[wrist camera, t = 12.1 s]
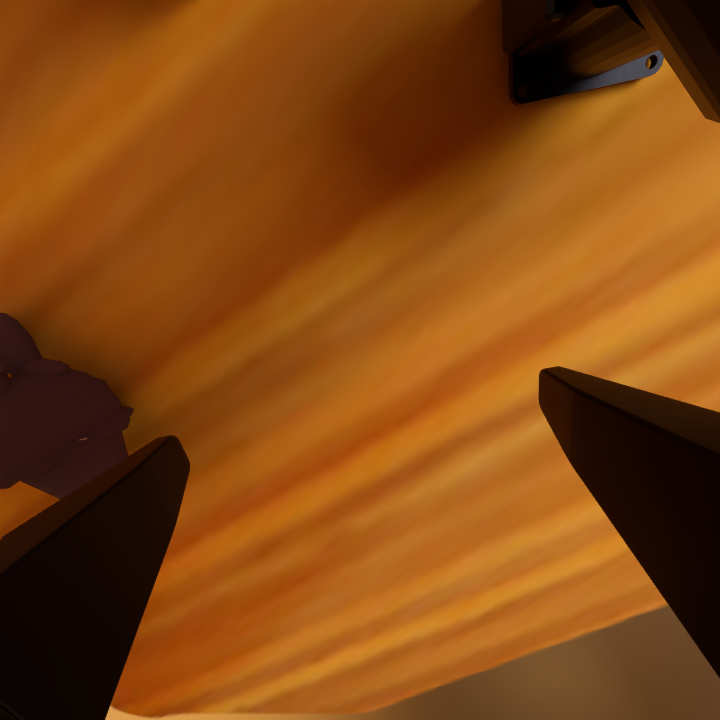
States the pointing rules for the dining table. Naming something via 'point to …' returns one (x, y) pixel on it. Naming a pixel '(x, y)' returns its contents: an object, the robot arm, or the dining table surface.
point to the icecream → (53, 419)
